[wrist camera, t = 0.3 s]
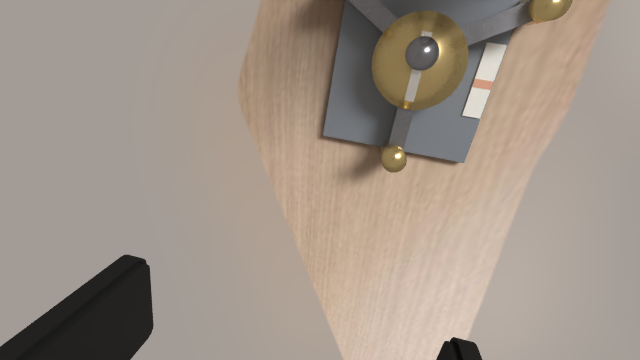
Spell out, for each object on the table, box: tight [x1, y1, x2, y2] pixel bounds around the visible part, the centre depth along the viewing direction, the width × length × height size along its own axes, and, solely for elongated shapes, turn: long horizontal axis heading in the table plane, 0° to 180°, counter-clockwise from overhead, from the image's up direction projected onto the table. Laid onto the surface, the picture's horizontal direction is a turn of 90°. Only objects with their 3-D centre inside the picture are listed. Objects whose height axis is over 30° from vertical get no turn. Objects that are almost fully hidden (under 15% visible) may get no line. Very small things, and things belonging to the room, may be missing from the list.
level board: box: [323, 0, 521, 163], centre depth 30 cm, size 20×16×1 cm
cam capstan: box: [346, 0, 572, 172], centre depth 29 cm, size 17×20×4 cm
